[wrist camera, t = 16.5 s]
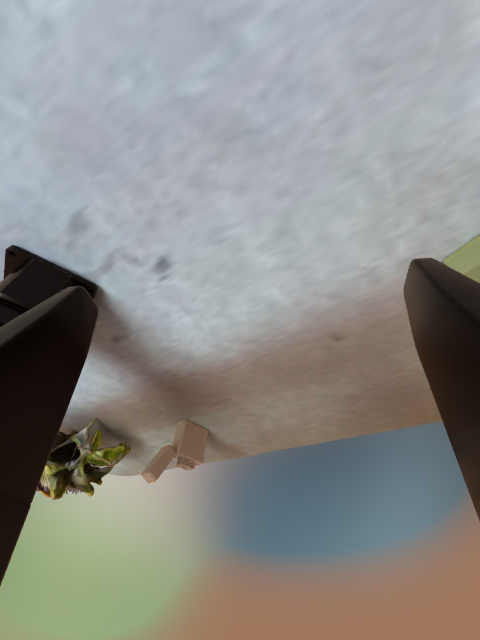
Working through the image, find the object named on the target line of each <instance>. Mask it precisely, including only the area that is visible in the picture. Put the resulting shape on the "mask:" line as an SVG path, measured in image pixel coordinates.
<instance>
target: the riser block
mask: <svg viewBox="0 0 480 640" xmlns="http://www.w3.org/2000/svg"><path fill="white" fill-rule="evenodd" d="M443 263H444V264H445V265H447V266H448V267H450V268H452V269H454V270H456V271H458V272H460V273H462V274H463V275H465V276H467V277H469V278H471V279H473V280H475V281H477V282H478V283H480V235H479V236H477V237H476V238H474V239H473V240H471V241H470V242H469V243H467V244H466V245H464V246H463V247H461V248H460V249H458V250H457V251H456V252H454V253H453V254H451V255H450V256H448V257H447V258H445V259H444V260H443Z"/></svg>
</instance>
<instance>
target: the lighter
mask: <svg viewBox="0 0 480 640" xmlns="http://www.w3.org/2000/svg"><path fill="white" fill-rule="evenodd" d="M207 437H208V430H206V429H204V428H202V427H200V426H198V425H196V424H194V423H192V422H190V421H188V420H186V419H184V420H182V421H180V422H178V426H177V430H176V434H175V437H174V441H173V445H172V446H171V445H167V446H164V447H163V448H162V449H161V450H160V451H159V452H158V454H157V455H156V456H155V457H154V458H153V460H152V461H151V462H150V463H149V465H148V466H147V467H146V468H145V469H144V471H143V472H142V473H141V475H142V476H143V478H144V479H145V480H146V481H147V482H148V483H151V482H155V481H156V480H157V479H158V477H159V476H160V475H161V474H162V472H163V471H164V470H165V468H166V467H167V466H168V464H169V463H170V462H171V460H172V459H173V458H174V457H175V458H177V459H178V461H177V465H176V466H178V467H180V468H183V469H185V470H192V469H194V466H197V465H200V464H203V459H204V453H205V448H206V442H207Z"/></svg>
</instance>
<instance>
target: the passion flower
mask: <svg viewBox="0 0 480 640" xmlns="http://www.w3.org/2000/svg"><path fill="white" fill-rule="evenodd" d="M97 420H98V419H95V420H94V421H93V422H92V423H90V424H89V425H88V426H87V427H86V428H85V429H83V430H82V431H81V432H79V433H78V434H77V433H75V432H72V433H71V434H69V435H67V434H65V433H62V432H60V431H59V432H58V434H57V437H56V440H55V442H54V445H53V448H52V450H51V453H50V456H49V458H48V461H47V463H46V466H45V469H44V471H43V474H42V477H41V479H40V482H39V485H38V487H37V490H36V491H41V492H42V493H43V494H44V495H45V496H47V497H51V498H52V499H53V500H55V499H59V498H61V497H62V496H63V494H64V493H65V491H66V493H67V490H68V491H72V493H74V492H75V493H76V491H77V492H79V491H78V490H80V491H81V492H85V493H86V494H88V496H90V497H91V496H92V495H93V494H94V488H93V486H92V485H91V484H90V482H94V483H97V484H98V485H101V483H102V481H101V478H102V477H103V476H104V475H106V474H108V473H109V472H110V471H111V470H112V468H113V466H114V465H115V464H117V463H118V462H119V461H120V460H121V459H123V458H124V456H125V455H126V454H127V453H129V451H130V450H131V446H129V447H127V446H126V441H124V442H123V443H120V444H119V445H117V446H113V447H109V448H100V449H97V448H98V447H99V446H100V444H101V440H102V435H101V432H100V430H97V431H96V435H95V437H94V440H93V442H92V443H91V444H90V445H86V440H87V438H88V437H89V434H88V432H89V429H90V427H91V426H92V424H93V423H95V422H96V421H97ZM82 446H84V447H85V448H83V447H82ZM78 448H79V449H80V450H79V449H78ZM90 463H91V465H93V466H109V467H105V468H99V467H93V466H91V465H90ZM77 489H78V490H77ZM76 494H77V493H76Z"/></svg>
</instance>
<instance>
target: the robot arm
mask: <svg viewBox="0 0 480 640" xmlns="http://www.w3.org/2000/svg"><path fill="white" fill-rule="evenodd" d="M89 288H90V289H89ZM97 291H98V288H97V286H96V285H95V284H93V283H91V282H89V281H87V280H85V279H83V278H81V277H79V276H77V275H75V274H72V273H70V272H68V271H66V270H64V269H62V268H60V267H58V266H56V265H54V264H52V263H50V262H48V261H46V260H44V259H42V258H40V257H38V256H35V255H33V254H31V253H29V252H27V251H25V250H23V249H21V248H19V247H17V246H14V245H11V246H10V247H8V248H7V249H6V253H5V268H4V280H3V281H2V282H0V586H1V583H2V580H3V578H4V575H5V572H6V570H7V567H8V564H9V562H10V559H11V557H12V554H13V551H14V548H15V546H16V543H17V541H18V538H19V535H20V533H21V530H22V527H23V525H24V522H25V520H26V517H27V514H28V511H29V509H30V506H31V505H30V504H31V503H32V500H33V498H34V495H35V492H36V490H37V487H38V485H39V482H40V479H41V477H42V474H43V471H44V469H45V466H46V463H47V461H48V458H49V456H50V453H51V450H52V448H53V445H54V442H55V440H56V437H57V434H58V432H59V429H60V427H61V424H62V421H63V419H64V416H65V413H66V411H67V408H68V405H69V403H70V400H71V398H72V395H73V392H74V390H75V387H76V384H77V382H78V379H79V377H80V374H81V371H82V369H83V366H84V363H85V360H86V358H87V354H88V351H89V347H90V344H91V340H92V336H93V332H94V328H95V325H96V321H97V317H98V307H97V305H96V303H95V302H94V298H95V296H96V293H97ZM404 297H405V302H406V306H407V311H408V316H409V320H410V325H411V329H412V334H413V338H414V342H415V346H416V349H417V352H418V355H419V358H420V361H421V363H422V366H423V369H424V372H425V374H426V377H427V380H428V382H429V385H430V388H431V391H432V393H433V396H434V399H435V401H436V404H437V407H438V409H439V412H440V415H441V418H442V420H443V423H444V426H445V428H446V431H447V434H448V437H449V439H450V442H451V445H452V447H453V450H454V453H455V455H456V458H457V461H458V463H459V466H460V469H461V472H462V474H463V477H464V480H465V482H466V485H467V488H468V491H469V493H470V496H471V499H472V502H473V504H474V507H475V510H476V512H477V515H478V518H479V520H480V283H478V282H477V281H475V280H473V279H471V278H469V277H467V276H465V275H463V274H462V273H460V272H458V271H456V270H454V269H452V268H450V267H448V266H447V265H445V264H443V263H441V262H439V261H437V260H435V259H433V258H419V259H414V260H412V261H411V263H410V265H409V269H408V273H407V277H406V281H405V284H404Z"/></svg>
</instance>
